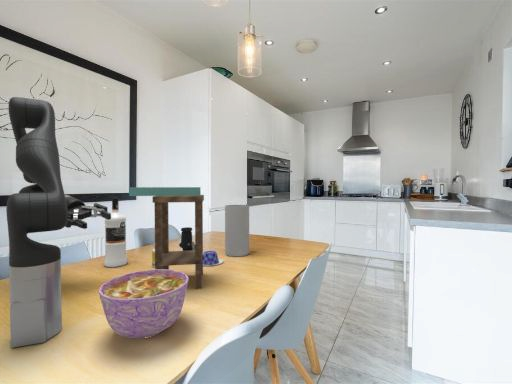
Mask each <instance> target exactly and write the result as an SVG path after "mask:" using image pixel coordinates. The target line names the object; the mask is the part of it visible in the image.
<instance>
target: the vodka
mask: <svg viewBox="0 0 512 384" xmlns="http://www.w3.org/2000/svg"><path fill="white" fill-rule="evenodd" d="M119 205H120V204H119V197H112V198H111V212H110V213H111V219H110V220H108V219H105V218H104V227H105V229H104V230H105V243H104V245H105V246H104V247H105V254H104V261H103V265H104V267H106V268H118V267H122V266H123V267H124V266H125V265H126V264H127V263H128V256H127V255H128V254H127V241H126V240H127V235H126V234H127V232H126V231H127V228H126V227H127V224H126V223H127V218H126V216H125V215H124V214H122V213H121V212H120V210H119V207H120V206H119Z"/></svg>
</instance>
